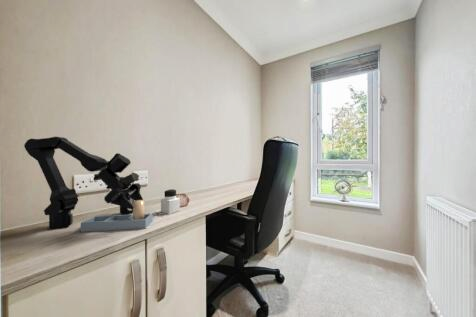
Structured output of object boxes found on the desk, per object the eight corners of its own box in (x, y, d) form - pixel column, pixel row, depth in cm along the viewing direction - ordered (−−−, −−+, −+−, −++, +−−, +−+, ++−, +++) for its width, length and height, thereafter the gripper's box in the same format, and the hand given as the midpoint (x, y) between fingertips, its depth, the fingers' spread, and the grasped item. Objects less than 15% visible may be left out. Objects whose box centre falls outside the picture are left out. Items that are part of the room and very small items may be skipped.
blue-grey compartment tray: (80, 231, 75) (80, 222, 75) (94, 224, 83) (94, 216, 83) (145, 228, 78) (145, 219, 78) (152, 221, 86) (152, 213, 86)
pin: (135, 226, 78) (135, 202, 78) (131, 224, 81) (131, 201, 81) (146, 223, 81) (146, 200, 82) (141, 221, 84) (141, 199, 84)
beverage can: (123, 215, 95) (123, 192, 95) (117, 213, 99) (117, 191, 99) (136, 212, 101) (136, 190, 101) (130, 210, 105) (130, 189, 105)
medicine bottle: (180, 211, 103) (180, 189, 103) (169, 214, 97) (169, 191, 97) (171, 209, 107) (171, 188, 107) (160, 212, 101) (160, 190, 101)
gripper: (112, 168, 72) (141, 196, 72) (137, 166, 91) (160, 189, 91) (91, 188, 72) (120, 217, 72) (120, 182, 90) (143, 205, 91)
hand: (138, 205), depth 81 cm, fingers open, 9 cm apart
